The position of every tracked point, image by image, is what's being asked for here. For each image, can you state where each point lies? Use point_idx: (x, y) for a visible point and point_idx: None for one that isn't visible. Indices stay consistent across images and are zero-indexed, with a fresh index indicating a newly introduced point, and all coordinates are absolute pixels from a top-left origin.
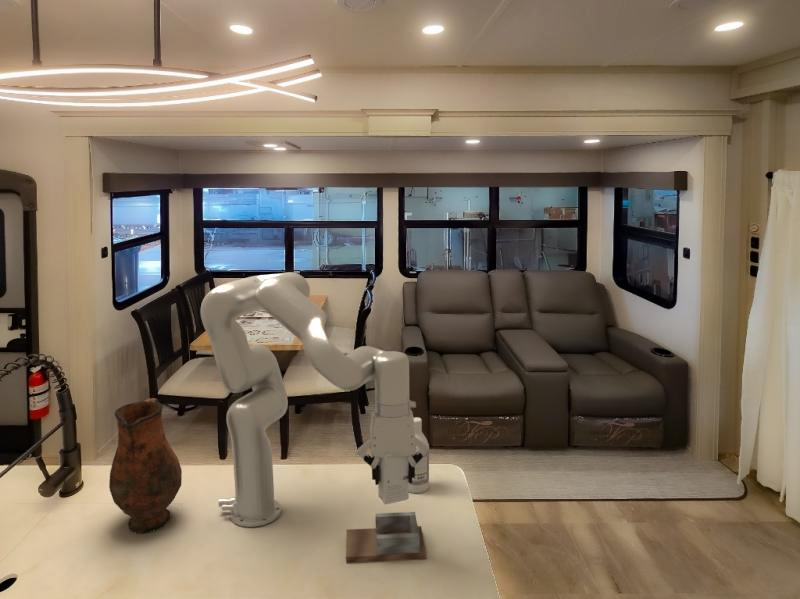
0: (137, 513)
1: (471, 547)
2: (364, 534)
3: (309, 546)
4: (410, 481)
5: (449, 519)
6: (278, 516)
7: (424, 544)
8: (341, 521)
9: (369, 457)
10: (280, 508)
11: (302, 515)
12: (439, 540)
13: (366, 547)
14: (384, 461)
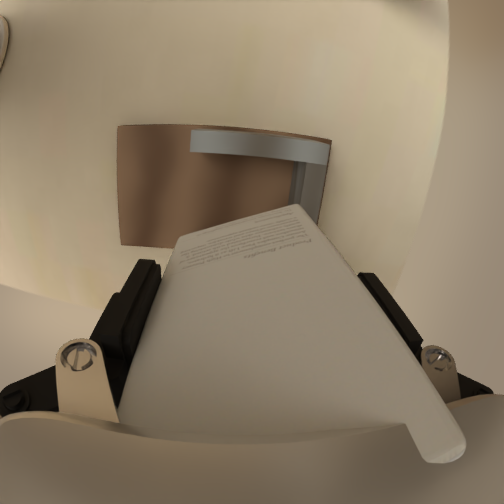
0: None
1: (405, 227)
2: (164, 153)
3: (50, 169)
4: None
5: (403, 108)
6: (1, 65)
7: (316, 224)
8: (117, 61)
9: (45, 409)
10: (2, 44)
11: (40, 46)
12: (357, 187)
13: (166, 213)
14: None
